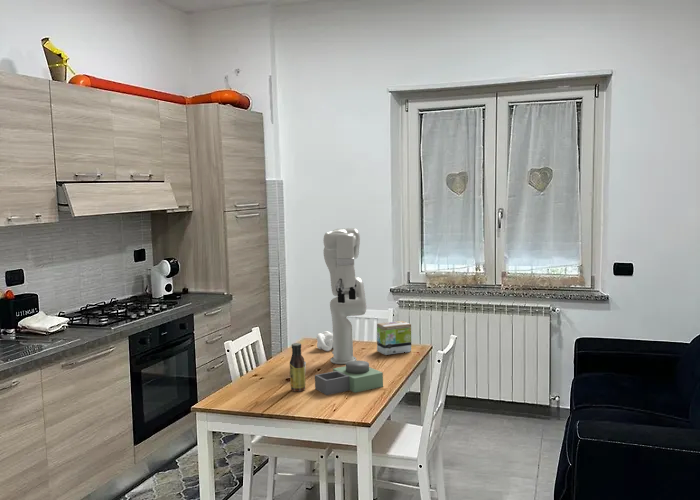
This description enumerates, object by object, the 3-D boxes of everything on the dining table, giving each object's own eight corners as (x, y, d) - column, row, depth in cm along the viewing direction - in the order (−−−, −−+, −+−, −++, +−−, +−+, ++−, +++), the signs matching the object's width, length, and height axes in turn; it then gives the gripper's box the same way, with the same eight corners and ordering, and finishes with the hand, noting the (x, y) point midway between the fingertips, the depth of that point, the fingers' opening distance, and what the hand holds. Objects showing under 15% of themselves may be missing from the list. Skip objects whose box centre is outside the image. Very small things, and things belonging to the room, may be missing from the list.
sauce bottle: (291, 387, 274) (289, 342, 272) (306, 387, 274) (304, 341, 272) (289, 392, 267) (287, 345, 265) (304, 392, 267) (302, 345, 265)
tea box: (385, 355, 321) (384, 326, 320) (376, 351, 330) (376, 323, 329) (412, 352, 327) (411, 323, 326) (402, 347, 336) (402, 319, 335)
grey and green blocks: (310, 386, 274) (310, 366, 274) (360, 376, 287) (360, 356, 286) (331, 397, 259) (330, 375, 258) (383, 386, 272) (382, 365, 271)
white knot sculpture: (338, 346, 344) (337, 329, 343) (339, 351, 332) (338, 334, 331) (317, 347, 343) (316, 330, 342) (317, 352, 331) (316, 335, 330)
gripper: (347, 260, 290) (349, 297, 292) (328, 264, 275) (329, 303, 277) (362, 260, 287) (363, 298, 288) (343, 264, 272) (344, 304, 273)
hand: (346, 301), depth 282 cm, fingers open, 9 cm apart
